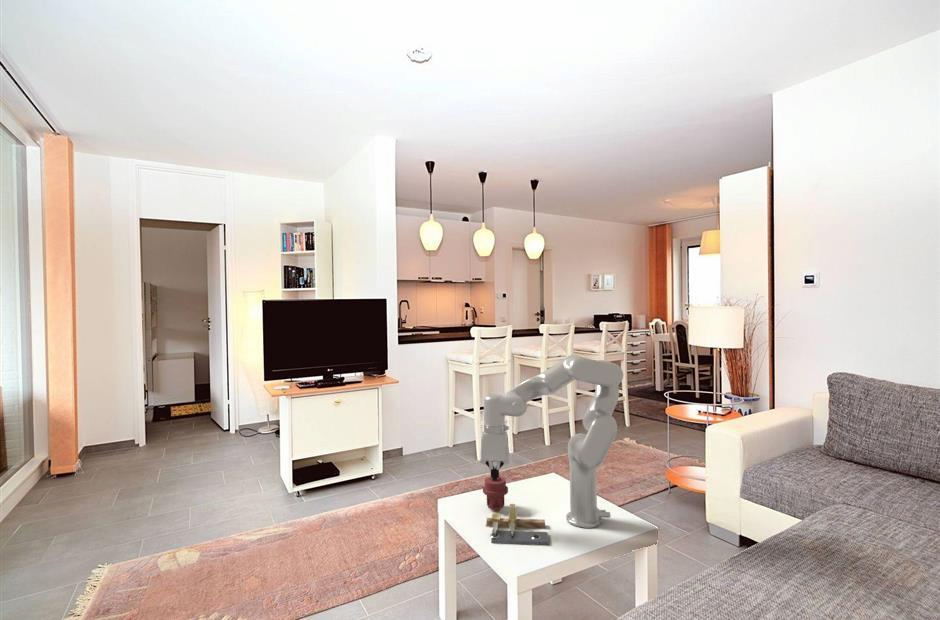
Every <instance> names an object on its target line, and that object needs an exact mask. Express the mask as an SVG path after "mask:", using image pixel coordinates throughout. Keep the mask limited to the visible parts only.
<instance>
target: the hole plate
mask: <svg viewBox="0 0 940 620" xmlns="http://www.w3.org/2000/svg"><path fill="white" fill-rule="evenodd" d="M489 537H491V540H490V541H491V544H508V545H509V544H515V545H535V546H536V545H537V546H538V545H539V546H550V545H549V535H548V531H532V530H531V531H527V530H526V531H525V530H515V533H514V535H513V536H511V533H510V530H503V529H502V530H501V529H500V530H499V529H497V533H496V536H495V535H493V529H492V532H491V533H490V534H489Z"/></svg>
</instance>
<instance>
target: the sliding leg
mask: <svg viewBox="0 0 940 620" xmlns="http://www.w3.org/2000/svg"><path fill="white" fill-rule="evenodd" d="M517 519H518V514H517V513H516V504H515V503H510V504H509V513H508V524H509V527H508V529H509V531H510V533H511V536H513V535H514V533H515V531H516V530H515V529H518V527H517Z"/></svg>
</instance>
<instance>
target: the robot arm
mask: <svg viewBox="0 0 940 620" xmlns="http://www.w3.org/2000/svg"><path fill="white" fill-rule="evenodd" d="M623 380H624V371H623V369H622V368H621V366H620V365H618V364H617V363H614V362H611V361H609V360H605V359H600V360H599V359H598V360H595V359H591V358H587V357H583V356H580V355H577V354H571V355H568V356H566V357H564V358H563V359H561V360H559V362H557V363H555V364H554V365H552V366H551V367H549V368H547V369H546V370H544V371H543V372H541V373H540V374H537V375H535V376H533V377H531V378H529V379H527V380H525V381H523V382H521V383H519V384H518V385H516V386H515V387H513V388H511V389H510V390H509V391H507V392H506V393H505V394H504V396H503V395H501V394H496V393H495V394H487V395H485V397H484V398H483V413H484V415H483V421H484V422H483V431H482V432H481V433H482V434H481V440H480V460H479V463H480V464H483V465H486V466H487V467H488V468H489V470H490V477H491V478H492V481H494V480H495V481H497V478H499V477H500V469H501V468H502V467H503V466H505V465H509V464H510V458H509V456H510V449H509V448H510V447H509V437H508V436H509V435H508V432H507V431H509V430H510V426H509V425H508V426H507V425H506V423H505V422H506V421H505V420H506V418H505V416H508V417H514V418H515V417H518V418H519V417H521V416H524V415H525V414H526V412H527V409H528V402H530V401H532V400H533V399H536V398H538V397H542V396H549V395H553V394H555V393H557V392H558V391H559V390H561V389H563V388H565V387H566V386H567V385H569V384H570V383H573V382H574V381H577V382H581V383H585V384H586V383H587V384H591V385H595V391H594V394H593V396H592V399H591V401H590V403H589V406H588V407H587V410H586V411H585V413H584V416H583V417H582V425H583V428H584V429H585V430H586V431H587V433H582V432H580V433H576V434H573V435H572V436H571V437H570V438H569V439H568V440H569V441H568V443H567V454H568V455H567V456H568V463H569V464H568V465H569V491H570V492H569V494H570V495H569V497H570V498H569V499H570V500H569V501H570V504H569V505H570V511H569V512H567V514H566V516H565V517H566V518H565V519H566V521H567V522H568V523H569V524H570V525H572V526H575V527H578V528H584V529H585V528H586V529H592V528H596V527H598V526H600V525H601V524H602V518H607V519H608V518H609V519H610V518H612V517H611V516H612V515H611V512H610V511H606V510H607V509H599V508H598V502H597V501H598V500H597V499H598V497H597V496H598V493H597V468H599V467H600V466H601V465H602V464H603V463H604V461H605V459H606V457H607V455H608V453H609V451H610V450H611V447H612V445H613V442H615V441H614V440H615V438H616V437H617V436H616V435H617V432H618V424H617V421H616V419H615V418H614V417H613V416H612V415H613V413H614V411H615V408H616V406H617V403H618V401H619V396H620V387H619V385H620V384H621V382H622V381H623ZM494 462H496V466H494Z"/></svg>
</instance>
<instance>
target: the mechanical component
mask: <svg viewBox="0 0 940 620" xmlns="http://www.w3.org/2000/svg"><path fill="white" fill-rule="evenodd" d="M506 482H507V480H506V478H504V477H502V476H499V478H497V481H495V480H494V481H492V478H491V476H488V477H486V478H484V485H483V487H482V492H483V494H484V495H485V496H486V506H487V508H488V509H491V510H493V512H494V513H495V512H496V513H497V512H499V511H500V509H502V508H504V506H505V496H506V495H507V494H508V493H509V487H508V485H507V483H506Z"/></svg>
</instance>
